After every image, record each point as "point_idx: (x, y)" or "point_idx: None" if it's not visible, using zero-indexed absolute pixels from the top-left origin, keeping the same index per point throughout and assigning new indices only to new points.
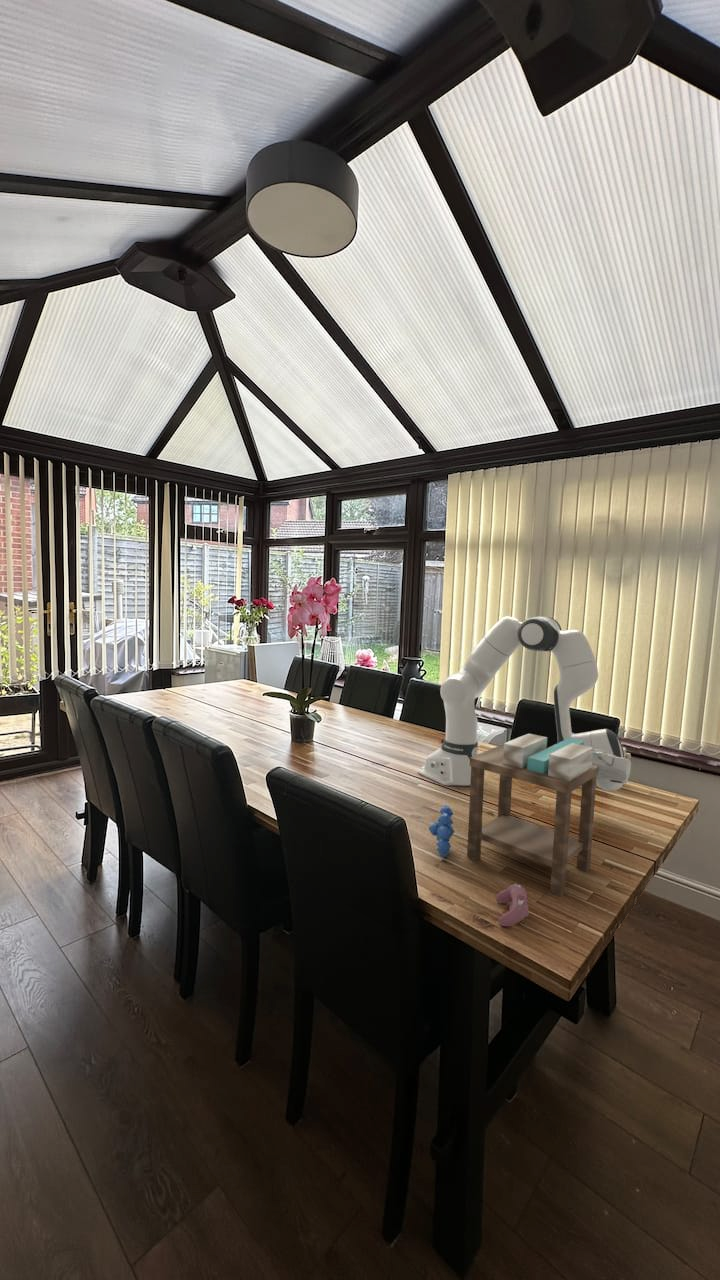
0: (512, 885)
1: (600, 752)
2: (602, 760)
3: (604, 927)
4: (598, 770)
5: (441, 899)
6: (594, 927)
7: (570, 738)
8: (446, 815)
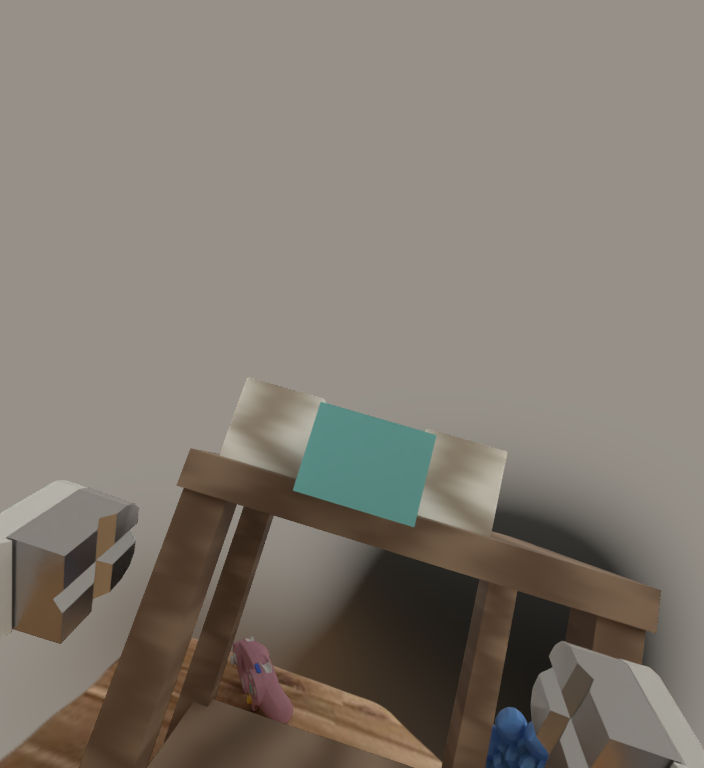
0: (274, 671)
1: (115, 497)
2: (8, 632)
3: (72, 703)
4: (183, 467)
5: (364, 709)
6: (96, 700)
7: (420, 431)
8: (507, 708)
